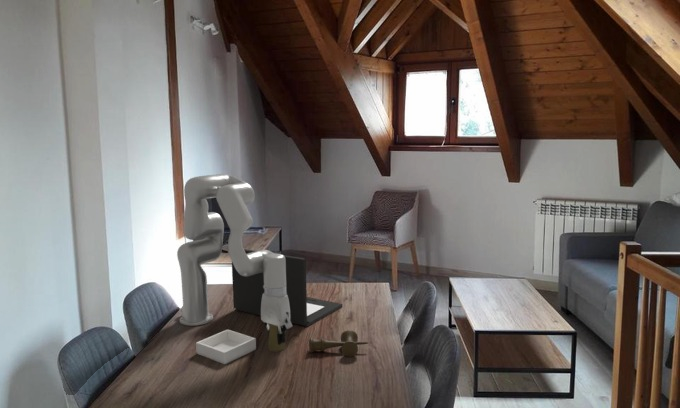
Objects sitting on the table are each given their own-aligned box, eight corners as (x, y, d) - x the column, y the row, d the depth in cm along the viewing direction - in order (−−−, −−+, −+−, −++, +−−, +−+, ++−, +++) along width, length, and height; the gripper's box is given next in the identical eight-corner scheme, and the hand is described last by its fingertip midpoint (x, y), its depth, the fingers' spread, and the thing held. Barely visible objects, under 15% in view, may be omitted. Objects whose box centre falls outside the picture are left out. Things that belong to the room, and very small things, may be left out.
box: (196, 353, 179) (196, 342, 178) (228, 339, 190) (227, 329, 189) (224, 364, 170) (224, 352, 170) (256, 349, 182) (255, 338, 181)
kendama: (310, 347, 184) (367, 344, 184) (308, 360, 175) (369, 357, 175) (309, 331, 183) (367, 328, 183) (307, 343, 174) (368, 340, 174)
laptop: (342, 307, 223) (342, 245, 219) (305, 328, 200) (304, 259, 196) (273, 293, 242) (272, 236, 238) (232, 311, 220) (230, 248, 216)
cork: (282, 352, 179) (281, 320, 178) (265, 350, 180) (264, 319, 179) (287, 344, 185) (286, 314, 183) (271, 343, 186) (270, 313, 185)
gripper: (250, 289, 181) (252, 340, 184) (286, 298, 172) (287, 351, 174) (265, 283, 187) (267, 333, 190) (301, 291, 178) (302, 343, 180)
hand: (277, 341), depth 182 cm, fingers closed on cork, 3 cm apart
